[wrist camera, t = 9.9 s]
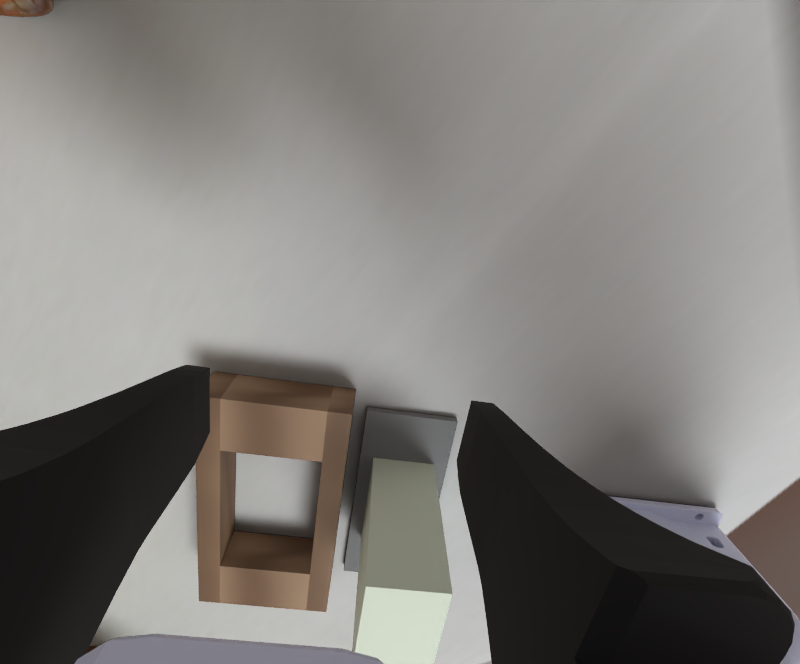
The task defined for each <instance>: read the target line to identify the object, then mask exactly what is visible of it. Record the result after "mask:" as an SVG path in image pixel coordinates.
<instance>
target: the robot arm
mask: <svg viewBox="0 0 800 664" xmlns="http://www.w3.org/2000/svg"><path fill="white" fill-rule="evenodd" d="M209 433H210V368H207V367H199V366H191V365H185V366H181V367H178V368H176V369H173V370H170V371H168V372H165V373H163V374H161V375H158V376H156V377H154V378H151V379H149V380H146V381H144V382H142V383H139V384H137V385H135V386H132V387H130V388H127V389H125V390H123V391H120V392H118V393H115V394H113V395H110V396H107V397H105V398H102V399H100V400H97V401H94V402H92V403H89V404H86V405H84V406H81V407H79V408H76V409H73V410H70V411H67V412H64V413H61V414H58V415H55V416H52V417H48V418H45V419H42V420H38V421H35V422H31V423H28V424H25V425H21V426H17V427H13V428H9V429H5V430H1V431H0V664H384V663H383V662H382V661H380V660H379V659H378V658H375V657H372V656H368V655H364V654H360V653H356V652H353V651H349V650H345V649H339V648H326V647H314V646H301V645H289V644H276V643H264V642H251V641H239V640H226V639H214V638H201V637H189V636H176V635H164V634H149V635H139V636H128V637H118V638H115V639H112V640H109V641H106V642H105V643H103V644H101V645H100V646H98V647H97V648H95V649H93V650H92V651H90V652H88V653H87V654H86V652H87V650H88V648H89V645H90V643H91V641H92V639H93V637H94V635H95V633H96V631H97V629H98V627H99V625H100V623H101V621H102V619H103V617H104V615H105V613H106V611H107V609H108V607H109V605H110V603H111V601H112V599H113V597H114V595H115V593H116V591H117V589H118V587H119V585H120V584H121V582H122V580H123V578H124V576H125V574H126V572H127V570H128V569H129V567H130V565H131V563H132V561H133V559H134V557H135V555H136V553H137V552H138V550H139V548H140V547H141V545H142V543H143V542H144V540H145V539H146V537H147V535H148V534H149V532H150V531H151V529H152V528H153V526H154V525H155V523H156V522H157V520H158V519H159V517H160V516H161V514H162V513H163V511H164V510H165V508H166V507H167V505H168V504H169V502H170V501H171V499H172V498H173V496H174V495H175V493H176V492H177V490H178V489H179V487H180V486H181V484H182V483H183V481H184V480H185V478H186V477H187V475H188V474H189V472H190V471H191V469H192V467H193V466H194V464H195V463H196V461H197V459H198V457H199V455H200V453H201V450H202V448H203V446H204V444H205V442H206V440H207V437H208V435H209ZM457 468H458V479H459V487H460V494H461V499H462V503H463V507H464V511H465V516H466V520H467V524H468V528H469V532H470V536H471V540H472V544H473V548H474V552H475V556H476V560H477V564H478V569H479V574H480V579H481V584H482V590H483V597H484V605H485V612H486V619H487V627H488V635H489V643H490V651H491V660H492V664H800V620H799V619H798V617H797V616H796V615H795V614H794V612H793V611H792V610H791V609H790V607H789V606H788V605H787V604H786V603H785V602H784V601H783V600H782V598H781V597H780V596H779V595H778V594H777V593H776V592H775V591H774V590H773V588H772V587H771V586H770V585H769V584H768V583H767V582H766V580H765V579H764V578H763V577H762V576H761V575H760V574H759V573H758V571H757V570H756V569H755V568H754V567H753V566H752V565H751V563H750V562H749V561H748V560H747V559H746V558H745V557H744V556H743V555H742V553H741V552H740V551H739V550H738V549H737V548H736V547H735V546H734V544H733V543H732V542H731V541H730V540H729V539H728V538H727V537H726V535H725V534H724V533H723V532H722V531H721V530H720V529H719V528H718V525H719V523H720V521H721V520H722V514H721V513H720V512H719V511H718V510H717V509H715V508H709V507H700V506H691V505H682V504H673V503H664V502H655V501H646V500H637V499H628V498H619V497H610V496H607V495H606V494H604V493H602V492H601V491H599V490H598V489H596V488H595V487H593V486H592V485H591V484H589V483H588V482H586V481H585V480H583V479H582V478H580V477H579V476H577V475H576V474H575V473H573V472H572V471H571V470H569V469H568V468H567V467H565V466H564V465H563V464H562V463H560V462H559V461H558V460H557V459H555V458H554V457H553V456H552V455H551V454H549V453H548V452H547V451H546V450H545V449H543V448H542V447H541V446H540V445H539V444H538V443H536V442H535V441H534V440H533V439H532V438H531V437H530V436H529V435H528V434H526V433H525V432H524V431H523V430H522V429H521V428H520V427H519V426H518V425H517V424H516V423H515V422H513V421H512V420H511V419H510V418H509V417H508V416H507V415H506V414H505V413H504V412H503V411H501V410H500V409H499V408H498V407H497V406H495V405H494V404H493V403H486V402H478V401H471V405H470V409H469V413H468V417H467V421H466V425H465V429H464V433H463V437H462V441H461V445H460V449H459V453H458V458H457Z"/></svg>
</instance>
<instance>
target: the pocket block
mask: <svg viewBox="0 0 800 664" xmlns="http://www.w3.org/2000/svg"><path fill="white" fill-rule="evenodd" d="M355 393H356V389H349V388H341V387H333V386H325V385H317V384H309V383H301V382H293V381H285V380H277V379H269V378H261V377H253V376H245V375H237V374H229V373H221V372H214V373H213V374H212V375H211V376H210V433H209V435H208V437H207V440H206V442H205V444H204V446H203V448H202V450H201V453H200V455H199V457H198V459H197V461H196V487H197V532H198V576H199V601H205V602H217V603H229V604H240V605H252V606H263V607H275V608H287V609H298V610H310V611H322V612H326V609H327V602H328V595H329V588H330V581H331V574H332V566H333V559H334V551H335V544H336V536H337V529H338V521H339V514H340V506H341V498H342V491H343V483H344V476H345V468H346V461H347V453H348V446H349V438H350V430H351V423H352V415H353V408H354V400H355ZM236 452H238V453H247V454H256V455H265V456H274V457H283V458H292V459H301V460H309V461H318V462H322V467H321V476H320V486H319V495H318V504H317V514H316V523H315V532H314V539H310V538H300V537H290V536H279V535H269V534H259V533H249V532H239V531H235V480H236Z"/></svg>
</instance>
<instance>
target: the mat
mask: <svg viewBox="0 0 800 664" xmlns="http://www.w3.org/2000/svg"><path fill="white" fill-rule="evenodd" d="M456 426H457V418H454V417H446V416H437V415H429V414H421V413H413V412H405V411H397V410H388V409H380V408H372V407H367V413H366V420H365V427H364V434H363V441H362V448H361V454H360V461H359V468H358V475H357V482H356V489H355V495H354V502H353V509H352V516H351V523H350V530H349V537H348V543H347V550H346V557H345V564H344V571H354V572H359V559H360V546H361V535H362V528H363V522H364V516H365V509H366V503H367V496H368V490H369V483H370V477H371V470H372V464H373V458H381V459H390V460H399V461H408V462H417V463H426V464H434V468H435V475H436V482H437V489H438V496H439V497H440V493H441V489H442V485H443V480H444V476H445V472H446V468H447V464H448V459H449V455H450V451H451V447H452V443H453V438H454V434H455V430H456Z"/></svg>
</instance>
